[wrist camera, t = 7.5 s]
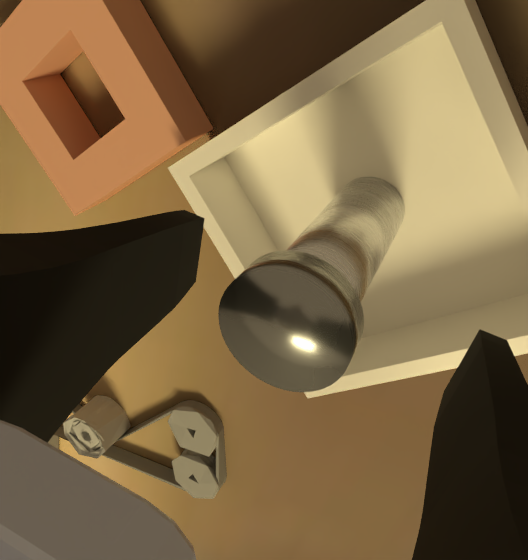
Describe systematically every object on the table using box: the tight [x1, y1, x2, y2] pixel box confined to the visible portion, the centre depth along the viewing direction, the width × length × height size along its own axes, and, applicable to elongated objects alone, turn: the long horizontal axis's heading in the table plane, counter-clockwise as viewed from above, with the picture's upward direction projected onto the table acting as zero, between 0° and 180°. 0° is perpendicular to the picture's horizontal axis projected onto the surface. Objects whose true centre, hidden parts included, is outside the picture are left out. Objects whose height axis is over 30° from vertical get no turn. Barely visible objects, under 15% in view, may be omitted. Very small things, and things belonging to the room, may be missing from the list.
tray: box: [168, 0, 528, 398], centre depth 17 cm, size 10×10×3 cm
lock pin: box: [219, 176, 405, 392], centre depth 14 cm, size 3×3×8 cm
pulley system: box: [48, 395, 227, 499], centre depth 34 cm, size 27×5×15 cm
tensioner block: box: [0, 0, 214, 216], centre depth 20 cm, size 7×7×2 cm
